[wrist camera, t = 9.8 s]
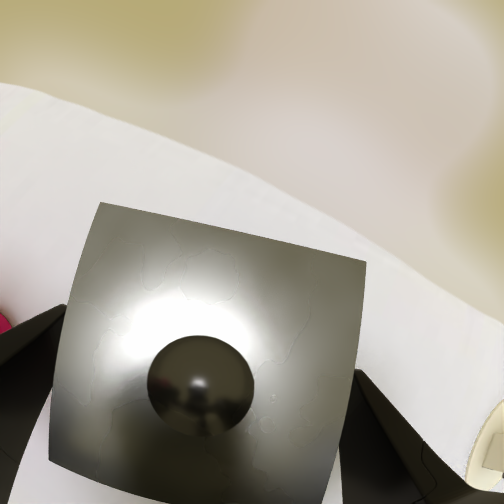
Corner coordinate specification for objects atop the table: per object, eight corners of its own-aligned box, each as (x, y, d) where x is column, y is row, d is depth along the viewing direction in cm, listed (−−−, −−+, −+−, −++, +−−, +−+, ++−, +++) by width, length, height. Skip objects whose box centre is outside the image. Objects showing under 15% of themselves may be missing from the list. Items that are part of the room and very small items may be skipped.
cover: (257, 426, 15) (333, 535, 4) (132, 400, 14) (27, 474, 4) (280, 307, 17) (390, 247, 6) (157, 280, 16) (85, 178, 6)
